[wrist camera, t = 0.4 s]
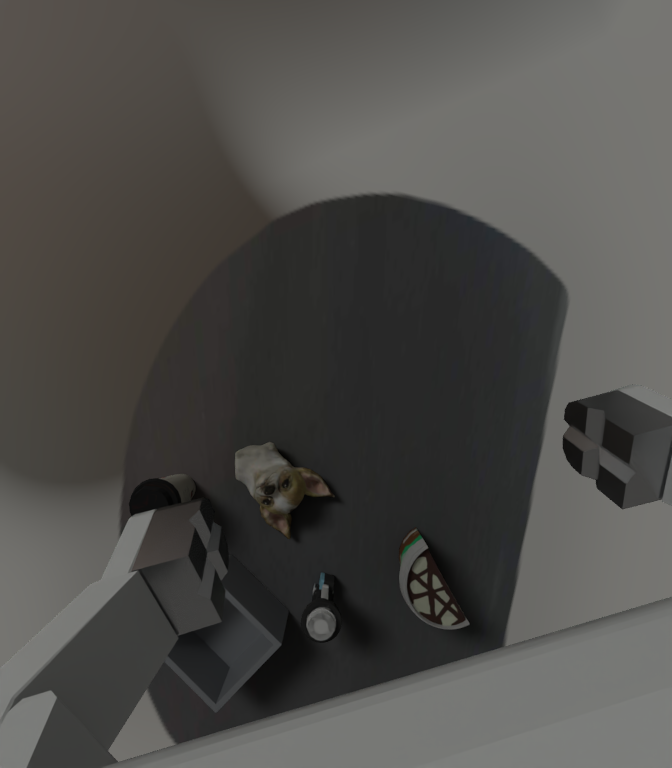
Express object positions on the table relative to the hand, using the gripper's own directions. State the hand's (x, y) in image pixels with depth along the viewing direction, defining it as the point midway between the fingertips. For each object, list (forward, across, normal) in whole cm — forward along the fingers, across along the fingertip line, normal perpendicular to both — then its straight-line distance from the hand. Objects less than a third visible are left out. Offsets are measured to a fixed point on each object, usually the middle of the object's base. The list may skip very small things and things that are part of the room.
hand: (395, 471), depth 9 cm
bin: (+36, -22, -48) cm, 64 cm away
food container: (+35, +7, -47) cm, 59 cm away
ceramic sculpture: (+44, -10, -32) cm, 55 cm away
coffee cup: (+45, -25, -30) cm, 60 cm away
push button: (+35, -8, -48) cm, 60 cm away
